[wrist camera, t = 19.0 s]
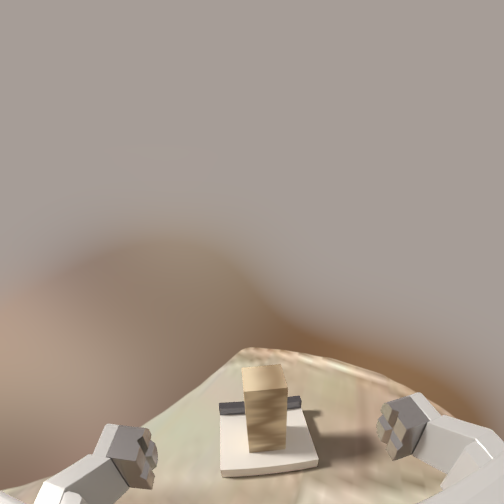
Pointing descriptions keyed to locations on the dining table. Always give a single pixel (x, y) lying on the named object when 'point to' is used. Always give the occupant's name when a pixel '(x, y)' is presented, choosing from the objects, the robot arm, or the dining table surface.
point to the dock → (259, 463)
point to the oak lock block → (265, 407)
